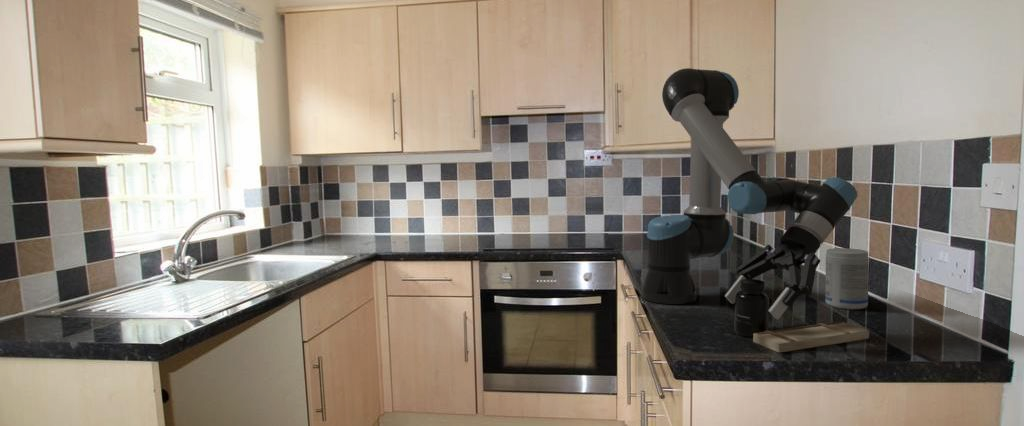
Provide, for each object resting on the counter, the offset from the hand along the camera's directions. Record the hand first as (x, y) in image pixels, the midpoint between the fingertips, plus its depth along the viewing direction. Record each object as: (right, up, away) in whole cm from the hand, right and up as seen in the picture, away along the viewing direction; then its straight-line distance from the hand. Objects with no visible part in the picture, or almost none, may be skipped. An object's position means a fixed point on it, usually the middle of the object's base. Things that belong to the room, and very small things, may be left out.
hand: (749, 307), depth 115 cm
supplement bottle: (+1, -6, +1) cm, 6 cm away
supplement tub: (+35, -4, +22) cm, 42 cm away
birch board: (+11, -6, -4) cm, 14 cm away
